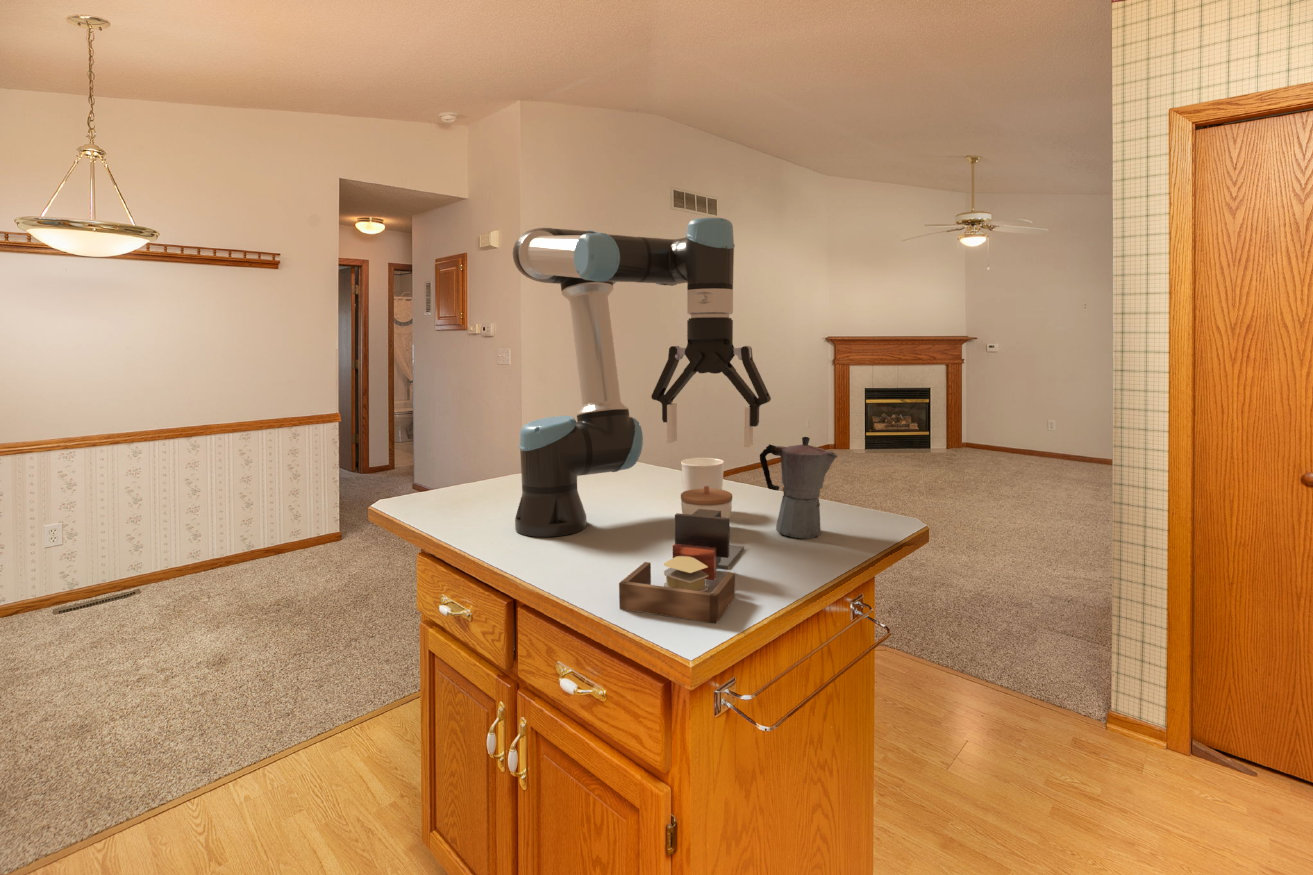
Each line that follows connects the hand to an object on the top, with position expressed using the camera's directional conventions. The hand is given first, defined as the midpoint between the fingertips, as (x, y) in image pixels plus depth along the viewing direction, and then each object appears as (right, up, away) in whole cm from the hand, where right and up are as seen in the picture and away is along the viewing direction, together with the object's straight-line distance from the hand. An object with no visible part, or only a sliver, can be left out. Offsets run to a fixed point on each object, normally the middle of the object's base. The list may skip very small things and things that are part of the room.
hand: (709, 443), depth 113 cm
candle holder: (+2, -16, +40) cm, 43 cm away
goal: (-6, -24, -12) cm, 27 cm away
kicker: (-1, -21, -1) cm, 21 cm away
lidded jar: (+1, -19, +26) cm, 32 cm away
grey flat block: (+3, -21, +9) cm, 23 cm away
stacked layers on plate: (-4, -24, -9) cm, 26 cm away
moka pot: (+20, -19, +23) cm, 36 cm away
